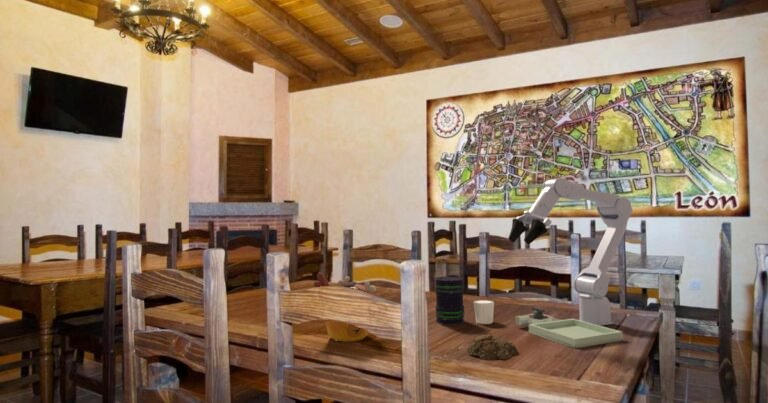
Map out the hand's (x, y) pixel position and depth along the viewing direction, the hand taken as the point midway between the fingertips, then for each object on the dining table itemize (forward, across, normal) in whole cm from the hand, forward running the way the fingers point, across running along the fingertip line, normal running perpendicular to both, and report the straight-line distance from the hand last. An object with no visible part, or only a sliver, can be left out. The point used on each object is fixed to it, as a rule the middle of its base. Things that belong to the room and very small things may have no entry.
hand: (518, 241), depth 148 cm
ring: (+14, -4, +25) cm, 29 cm away
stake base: (+12, -4, +29) cm, 32 cm away
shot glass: (+23, -16, +18) cm, 33 cm away
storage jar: (+30, -22, +11) cm, 39 cm away
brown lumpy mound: (+35, +14, +4) cm, 38 cm away
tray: (+13, +11, +27) cm, 32 cm away
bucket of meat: (+56, -18, -18) cm, 61 cm away
